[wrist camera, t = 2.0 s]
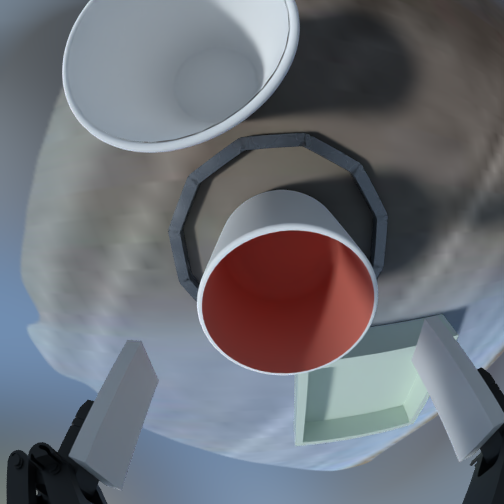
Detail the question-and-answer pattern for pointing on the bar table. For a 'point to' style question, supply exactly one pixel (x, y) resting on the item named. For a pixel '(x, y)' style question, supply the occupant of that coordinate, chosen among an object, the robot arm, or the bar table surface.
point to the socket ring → (260, 143)
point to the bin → (363, 388)
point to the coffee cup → (175, 67)
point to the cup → (286, 287)
